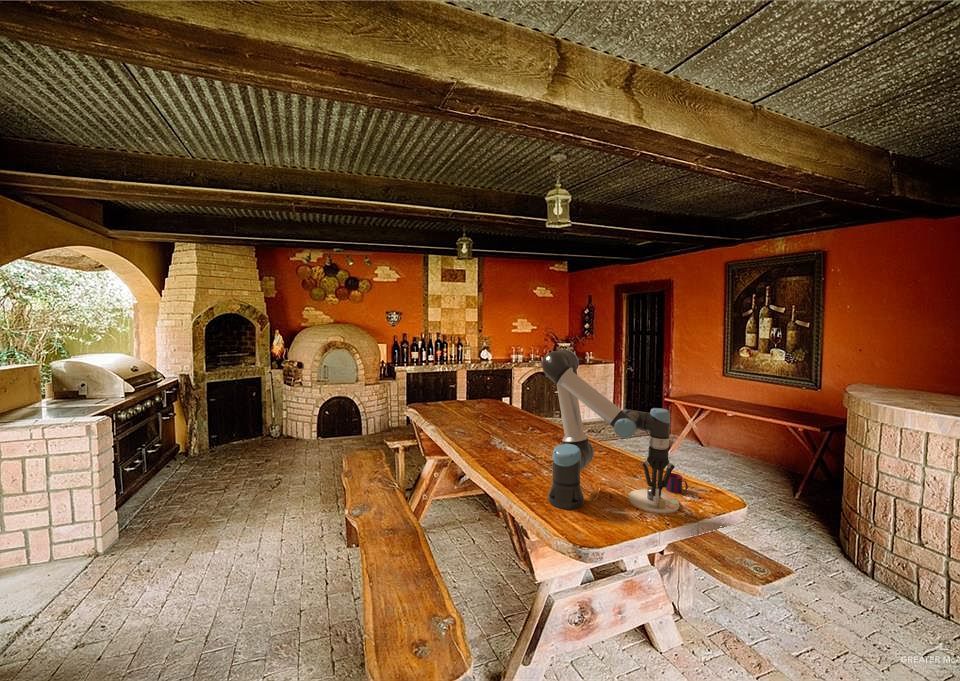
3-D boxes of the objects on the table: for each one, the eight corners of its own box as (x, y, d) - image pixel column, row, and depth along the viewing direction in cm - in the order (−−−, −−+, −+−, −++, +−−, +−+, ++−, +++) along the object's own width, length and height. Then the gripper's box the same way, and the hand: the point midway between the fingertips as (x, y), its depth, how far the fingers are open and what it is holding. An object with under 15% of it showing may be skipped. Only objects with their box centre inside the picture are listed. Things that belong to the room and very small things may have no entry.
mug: (673, 486, 196) (674, 472, 196) (691, 494, 187) (691, 480, 187) (662, 488, 194) (662, 474, 193) (679, 497, 185) (680, 482, 184)
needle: (645, 495, 182) (645, 486, 182) (657, 496, 182) (657, 486, 181) (656, 509, 169) (656, 498, 169) (668, 509, 169) (668, 499, 169)
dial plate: (627, 508, 174) (627, 504, 174) (629, 489, 192) (629, 486, 192) (680, 517, 166) (681, 513, 166) (677, 496, 185) (677, 493, 185)
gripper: (645, 448, 168) (642, 506, 169) (678, 450, 167) (675, 508, 168) (640, 443, 175) (637, 498, 177) (671, 444, 174) (668, 500, 175)
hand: (655, 503), depth 172 cm, fingers closed
